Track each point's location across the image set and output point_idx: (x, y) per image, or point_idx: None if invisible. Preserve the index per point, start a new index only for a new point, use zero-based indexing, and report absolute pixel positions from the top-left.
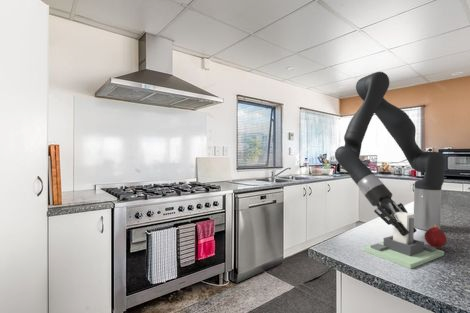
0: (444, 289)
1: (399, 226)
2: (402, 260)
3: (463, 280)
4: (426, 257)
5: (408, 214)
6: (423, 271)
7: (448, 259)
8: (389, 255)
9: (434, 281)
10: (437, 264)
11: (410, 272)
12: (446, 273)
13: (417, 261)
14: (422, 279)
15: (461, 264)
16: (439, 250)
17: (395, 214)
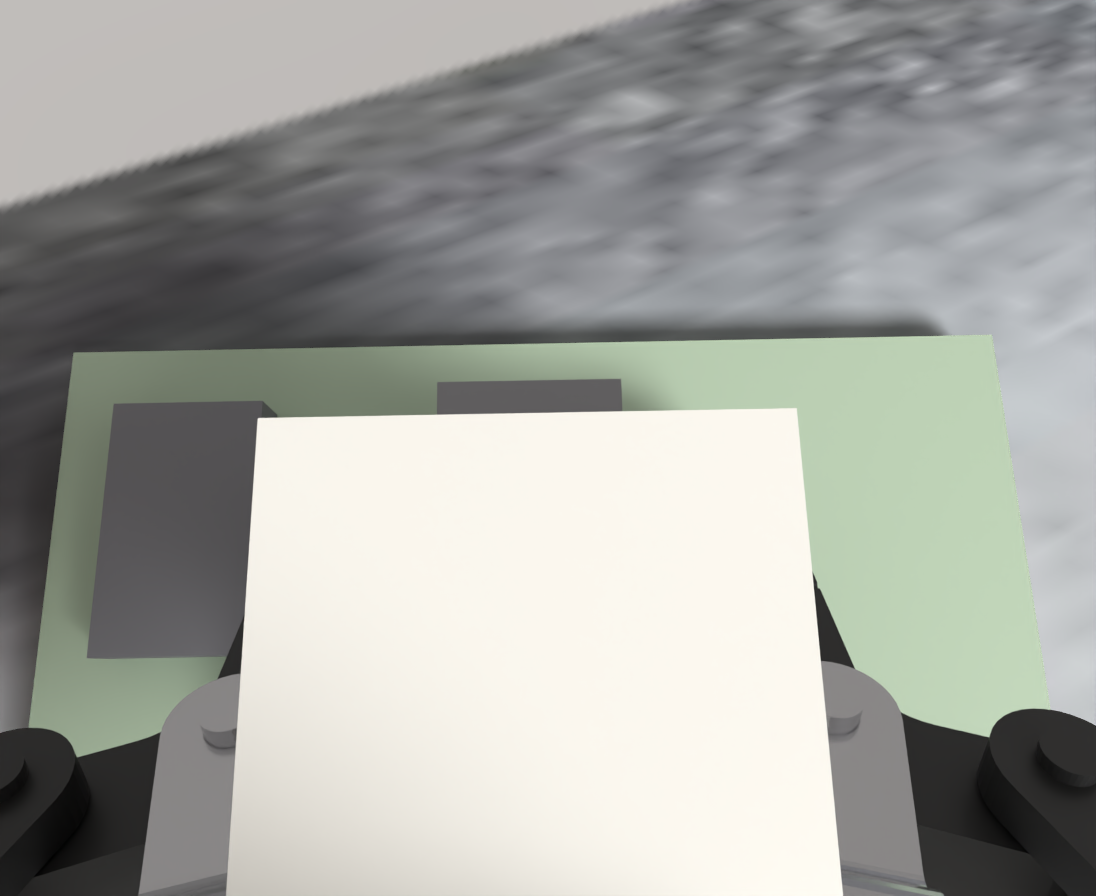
0: (1072, 11)
1: (829, 634)
2: (972, 444)
3: (703, 7)
4: (552, 357)
5: (524, 497)
6: (881, 259)
7: (216, 286)
8: (989, 626)
9: (1004, 110)
10: (519, 277)
11: (1051, 308)
12: (690, 135)
13: (807, 344)
14: (1081, 177)
15: (257, 160)
16: (87, 398)
17: (876, 877)
